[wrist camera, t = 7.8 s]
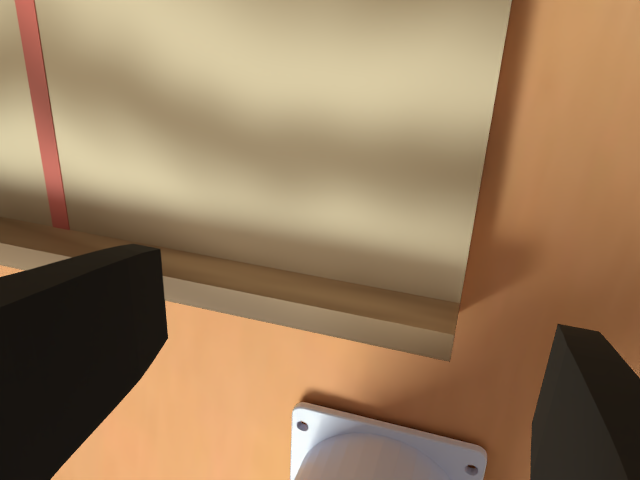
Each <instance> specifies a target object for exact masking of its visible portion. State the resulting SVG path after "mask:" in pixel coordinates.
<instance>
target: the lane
mask: <svg viewBox="0 0 640 480" xmlns="http://www.w3.org/2000/svg"><path fill="white" fill-rule="evenodd" d="M511 2H512V0H0V265H2V266H7V267H12V268H16V269H21V270H29V269H33V268H36V267H40V266H43V265H47V264H51V263H54V262H58V261H61V260H65V259H68V258H72V257H76V256H79V255H83V254H87V253H90V252H94V251H98V250H102V249H106V248H111V247H115V246H120V245H127V244H138V245H143V246H148V247H154V248H159V249H161V260H162V272H163V284H164V297H165V301H170V302H174V303H179V304H184V305H188V306H193V307H198V308H202V309H207V310H212V311H216V312H221V313H226V314H230V315H235V316H240V317H244V318H249V319H254V320H258V321H263V322H268V323H272V324H277V325H282V326H286V327H291V328H295V329H300V330H305V331H309V332H314V333H319V334H323V335H328V336H333V337H337V338H342V339H347V340H351V341H356V342H361V343H365V344H370V345H375V346H379V347H384V348H389V349H393V350H398V351H402V352H407V353H412V354H416V355H421V356H426V357H430V358H435V359H440V360H444V361H449V362H450V359H451V353H452V347H453V341H454V336H455V330H456V324H457V318H458V312H459V306H460V300H461V294H462V289H463V283H464V277H465V271H466V265H467V259H468V254H469V248H470V242H471V236H472V230H473V224H474V218H475V213H476V207H477V201H478V195H479V189H480V183H481V178H482V172H483V166H484V160H485V154H486V148H487V143H488V137H489V131H490V125H491V119H492V113H493V108H494V102H495V96H496V90H497V84H498V78H499V73H500V67H501V61H502V55H503V49H504V43H505V38H506V32H507V26H508V20H509V14H510V8H511Z"/></svg>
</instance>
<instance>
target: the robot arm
mask: <svg viewBox="0 0 640 480" xmlns="http://www.w3.org/2000/svg"><path fill="white" fill-rule="evenodd" d="M167 339H168V333H167V321H166V309H165V297H164V284H163V272H162V260H161V249H159V248H154V247H148V246H143V245H138V244H127V245H120V246H115V247H111V248H106V249H102V250H98V251H94V252H90V253H87V254H83V255H79V256H76V257H72V258H68V259H65V260H61V261H58V262H54V263H51V264H47V265H43V266H40V267H36V268H33V269H29V270H26V271H22V272H19V273H15V274H11V275H7V276H3V277H0V480H50V479H51V478H52V477H53V476H54V475H55V473H56V472H57V471H58V470H59V469H60V468H61V466H62V465H63V464H64V463H65V462H66V461H67V460H68V459H69V458H70V457H71V455H72V454H73V453H74V452H75V451H76V450H77V449H78V448H79V447H80V446H81V445H82V443H83V442H84V441H85V440H86V439H87V438H88V437H89V436H90V435H91V434H92V433H93V431H94V430H95V429H96V428H97V427H98V426H99V425H100V424H101V423H102V422H103V421H104V419H105V418H106V417H107V416H108V415H109V414H110V413H111V412H112V411H113V410H114V408H115V407H116V406H117V405H118V404H119V403H120V402H121V401H122V400H123V398H124V397H125V396H126V395H127V394H128V393H129V392H130V391H131V389H132V388H133V387H134V386H135V385H136V384H137V383H138V381H139V380H140V379H141V378H142V376H143V375H144V373H145V372H146V371H147V369H148V368H149V366H150V365H151V363H152V362H153V361H154V359H155V358H156V356H157V354H158V353H159V351H160V350H161V348H162V347H163V345H164V343H165V342H166V340H167ZM301 421H303V422H305V423H306V424H307V425H305V424H303V423H302V422H301ZM468 465H473V466H475V467H476V468H471V467H468ZM486 465H487V453H486V451H485V450H484V449H483V448H482V447H481V446H478V445H475V444H471V443H467V442H463V441H459V440H455V439H451V438H447V437H443V436H439V435H435V434H431V433H427V432H423V431H419V430H415V429H411V428H407V427H403V426H399V425H395V424H391V423H387V422H383V421H379V420H375V419H371V418H367V417H363V416H359V415H355V414H351V413H347V412H343V411H339V410H335V409H331V408H327V407H323V406H319V405H315V404H311V403H307V402H300V403H297V404H296V405H295V407H294V409H293V412H292V432H291V466H290V480H483V478H484V474H485V469H486ZM530 480H640V378H639V377H638V376H637V375H636V374H635V372H634V371H633V370H632V369H631V368H630V367H629V365H628V364H627V363H626V362H625V361H624V360H623V358H622V357H621V356H620V355H619V354H618V352H617V351H616V350H615V349H614V348H613V347H612V345H611V344H610V343H609V342H608V341H607V340H606V339H605V337H604V336H603V335H602V334H601V333H600V332H598V331H592V330H587V329H582V328H576V327H571V326H566V325H561V324H558V326H557V329H556V333H555V337H554V341H553V345H552V349H551V352H550V356H549V360H548V364H547V368H546V372H545V375H544V379H543V383H542V387H541V391H540V395H539V398H538V402H537V406H536V410H535V414H534V418H533V422H532V439H531V475H530Z"/></svg>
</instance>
